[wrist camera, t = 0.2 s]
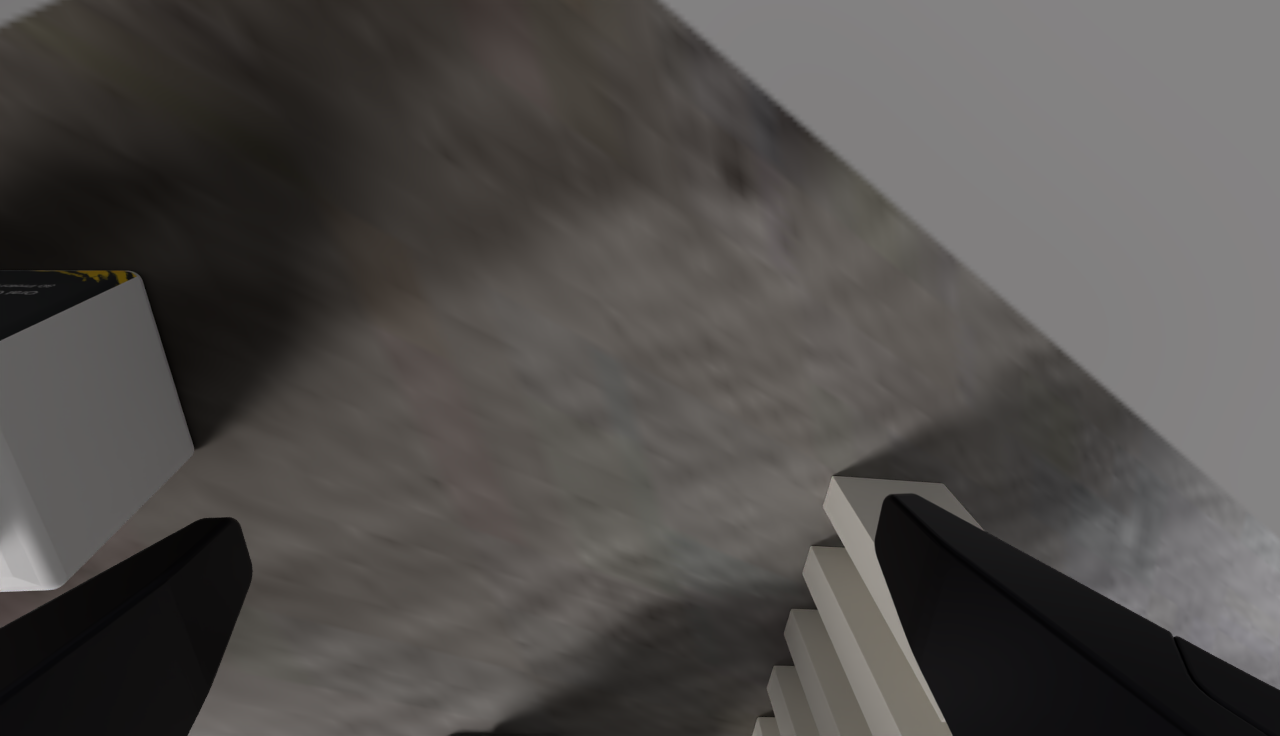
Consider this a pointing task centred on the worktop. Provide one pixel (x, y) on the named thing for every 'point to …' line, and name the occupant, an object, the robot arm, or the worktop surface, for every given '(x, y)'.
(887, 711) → the domino
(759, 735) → the domino
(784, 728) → the domino
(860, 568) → the domino
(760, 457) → the worktop surface
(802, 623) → the domino
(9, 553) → the medicine bottle
